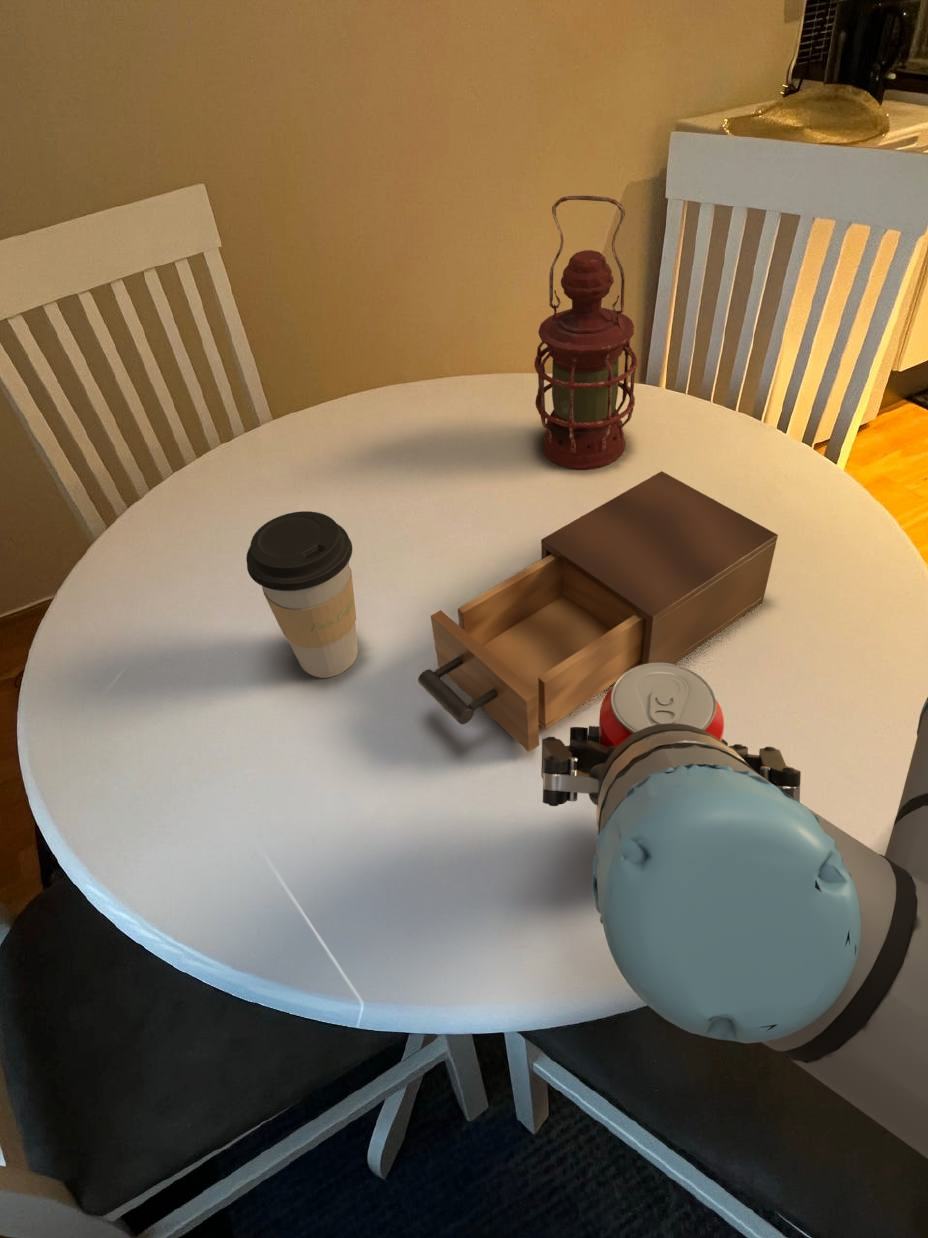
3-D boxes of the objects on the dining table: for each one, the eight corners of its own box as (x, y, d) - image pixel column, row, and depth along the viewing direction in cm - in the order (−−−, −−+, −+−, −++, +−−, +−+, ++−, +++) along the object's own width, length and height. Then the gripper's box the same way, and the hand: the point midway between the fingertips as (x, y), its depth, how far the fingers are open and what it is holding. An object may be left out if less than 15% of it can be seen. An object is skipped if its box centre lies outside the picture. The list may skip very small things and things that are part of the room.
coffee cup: (351, 699, 79) (319, 581, 68) (264, 681, 81) (220, 564, 71) (389, 631, 85) (365, 513, 75) (307, 616, 88) (273, 499, 77)
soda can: (593, 871, 61) (597, 743, 50) (598, 782, 66) (602, 650, 56) (704, 882, 59) (732, 753, 49) (700, 790, 65) (724, 657, 54)
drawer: (489, 780, 70) (484, 729, 65) (400, 689, 78) (390, 638, 73) (655, 664, 77) (661, 612, 73) (559, 593, 86) (558, 541, 81)
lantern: (642, 427, 108) (660, 178, 88) (619, 480, 100) (633, 219, 80) (552, 416, 112) (549, 174, 91) (523, 465, 104) (513, 213, 84)
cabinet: (646, 684, 77) (653, 617, 71) (542, 604, 86) (540, 539, 80) (763, 602, 84) (778, 534, 78) (655, 535, 92) (661, 470, 86)
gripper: (460, 875, 40) (511, 790, 63) (913, 910, 37) (795, 807, 60) (465, 720, 40) (513, 690, 63) (916, 741, 37) (797, 702, 60)
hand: (650, 747), depth 61 cm, fingers closed on soda can, 8 cm apart
